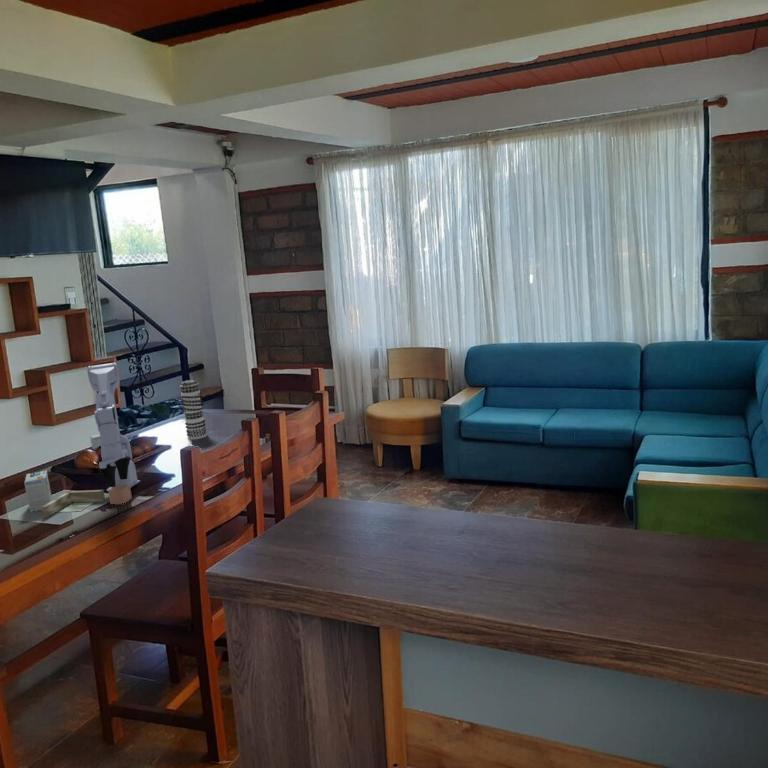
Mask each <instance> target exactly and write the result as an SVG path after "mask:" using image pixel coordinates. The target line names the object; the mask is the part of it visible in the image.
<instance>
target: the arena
mask: <svg viewBox="0 0 768 768" xmlns="http://www.w3.org/2000/svg"><path fill="white" fill-rule="evenodd" d="M104 501H106V495H105V490H104V489H93V490H92V489H91V490H89V489H88V490H69V491H66V492H64V493H63V494H61V495H60V496H57V497H56V498H54V499H52V501H51V502H49V503H47V504H46V505H44V506H42V507H41V508H42V510H41V511H42V513H41V514H42V517H43V518H49V517H50V516H52V515H54V514H56V513H57V512H58V513H69V512H70V513H73V511H74V512H75V511H79V512H82V511H83V510H85V509H87V508H88V507H91V505H93V504H94V503H95V502H104ZM71 502H74V503H73V504H72V503H71ZM68 504H69V505H68ZM71 505H72V506H71ZM55 512H56V513H55ZM75 513H76V512H75Z"/></svg>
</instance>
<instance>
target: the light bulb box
mask: <svg viewBox="0 0 768 768" xmlns="http://www.w3.org/2000/svg"><path fill="white" fill-rule="evenodd" d="M24 488H25V489H24V490H25V493H26V499H27V503H28V507H29V513H33V512H32V511H35V512H38V510H40V511H42V508H41V507H42V506H44V505H46V504H47V503H49V502H51V501H53V497H52V492H51V491H52V490H51V485H50V481H49V476H48V470H40V471H35V472H31V473H26V474H25V480H24Z"/></svg>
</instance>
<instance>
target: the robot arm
mask: <svg viewBox="0 0 768 768" xmlns="http://www.w3.org/2000/svg"><path fill="white" fill-rule="evenodd" d="M86 371H87V377H88V381H89V384H90V386H91V388H92V390H93V391H96V392H98V393H97V394H96V395H95V410H94V418H95V419H94V420H95V423H96V426H97V430H98V432H99V434H100V438H101V444H100V446H101V457H102V461H101V462H99V467H97V471H98V472H99V473H100V474H101V475H102V477H103V478H104V480H105V483H106V484H107V486H108V488H107V489H106V492H108V490H110V489H111V488H113V487H115V486H116V485H130V489H131V488H132V487H134V486H136V485H137V484H139V483H140V482H141V479H138V475H137V470H136V469H137V468H136V465H135V462H134V461H132V459H133V453H132V447H131V443H130V440H129V438H128V437H127V436H125V435H123V434H121V431H120V426H119V418H118V412H117V404H116V399H115V392H116V389H117V388H119V387H120V374H119V369H118V364H117V362H110V363H104V364H103V363H102V364H96V365H88V366H87V368H86Z"/></svg>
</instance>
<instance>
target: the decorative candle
mask: <svg viewBox="0 0 768 768" xmlns="http://www.w3.org/2000/svg"><path fill="white" fill-rule="evenodd" d="M199 384H200V383H199V382H197V381H196V380H195V379H189V380H184V381H182V382H181V384H180V385H179V387H180V391H181V392H180V394H181V398H180V401H181V402H180V403H181V406H182V407H181V408H182V412H183V413H184V417H185V419H184V421H185V422H184V425H185V429H186V430H185V432H186V436H187V439H188V440H199V439H200V440H201V439H203V438H206V437H207V436H208V434H207V433H208V431H207V427H206V419H205V417H204V413H203V411H204V407H202V406H203V405H204V403H202V402H203V399H201V398H203V395H202V391H201V390H200V387H199Z"/></svg>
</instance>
